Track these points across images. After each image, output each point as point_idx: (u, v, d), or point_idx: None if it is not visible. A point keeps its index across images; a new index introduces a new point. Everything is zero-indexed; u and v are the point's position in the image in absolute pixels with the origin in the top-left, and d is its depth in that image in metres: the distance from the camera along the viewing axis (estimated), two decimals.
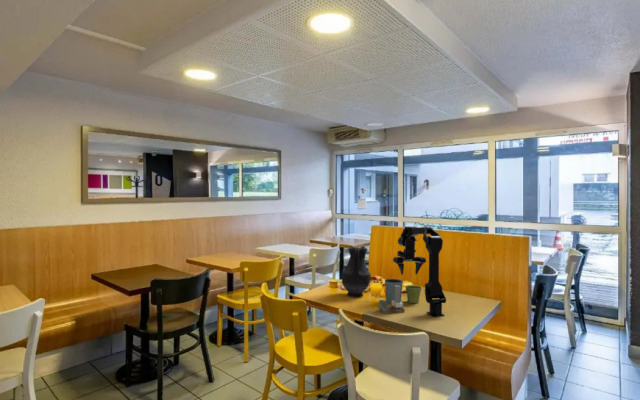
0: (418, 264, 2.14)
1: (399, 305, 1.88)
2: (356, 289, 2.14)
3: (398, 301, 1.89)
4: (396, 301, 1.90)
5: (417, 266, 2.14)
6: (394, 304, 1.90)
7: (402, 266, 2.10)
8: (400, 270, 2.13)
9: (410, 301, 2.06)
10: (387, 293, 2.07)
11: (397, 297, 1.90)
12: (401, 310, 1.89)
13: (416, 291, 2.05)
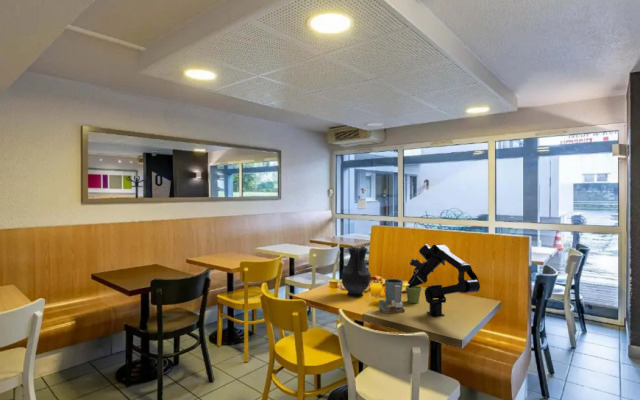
0: None
1: (399, 305, 1.88)
2: (356, 289, 2.14)
3: (398, 301, 1.89)
4: (396, 301, 1.90)
5: None
6: (394, 304, 1.90)
7: None
8: (412, 283, 1.85)
9: (410, 301, 2.06)
10: (387, 293, 2.07)
11: (397, 297, 1.90)
12: (401, 310, 1.89)
13: (416, 291, 2.05)
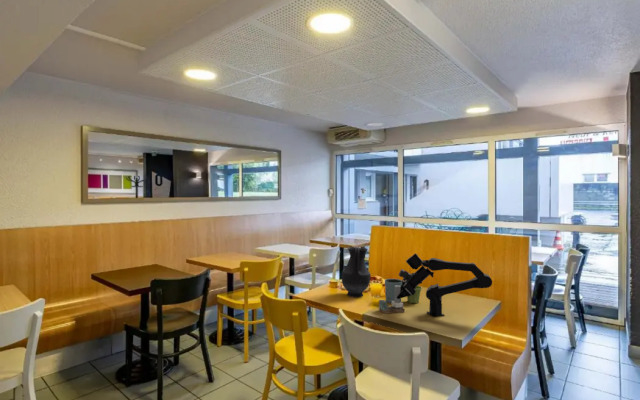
0: None
1: (399, 305, 1.88)
2: (356, 289, 2.14)
3: (398, 301, 1.89)
4: (396, 301, 1.90)
5: None
6: (394, 304, 1.90)
7: None
8: (400, 295, 1.85)
9: (410, 301, 2.06)
10: (387, 293, 2.07)
11: None
12: (401, 310, 1.89)
13: (416, 291, 2.05)
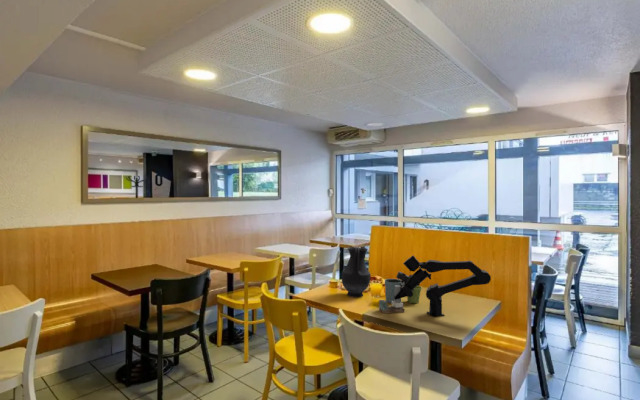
0: None
1: (399, 305, 1.88)
2: (356, 289, 2.14)
3: (398, 301, 1.89)
4: (396, 301, 1.90)
5: None
6: (394, 304, 1.90)
7: None
8: (397, 295, 1.88)
9: (410, 301, 2.06)
10: (387, 293, 2.07)
11: None
12: (401, 310, 1.89)
13: (416, 291, 2.05)
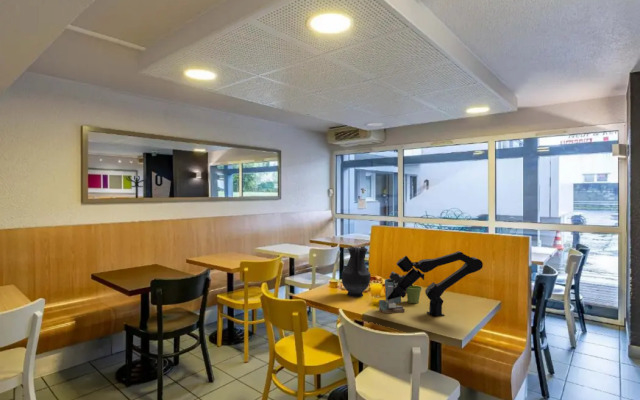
0: None
1: (392, 305, 1.87)
2: (356, 289, 2.14)
3: (391, 301, 1.88)
4: (389, 301, 1.89)
5: None
6: (387, 304, 1.89)
7: None
8: (390, 296, 1.87)
9: (410, 301, 2.06)
10: (387, 293, 2.07)
11: None
12: (401, 310, 1.89)
13: (416, 291, 2.05)
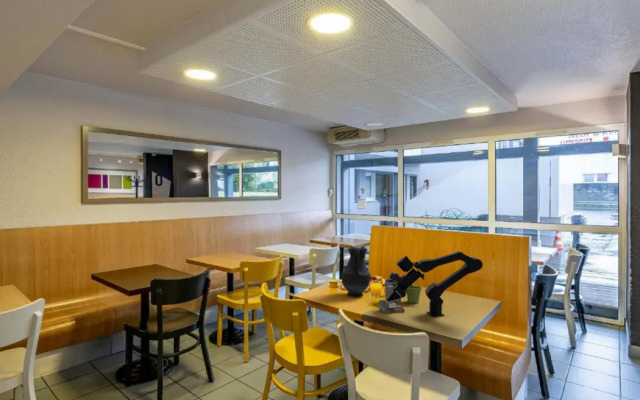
0: None
1: (392, 305, 1.87)
2: (356, 289, 2.14)
3: (391, 301, 1.88)
4: (389, 301, 1.89)
5: None
6: (387, 304, 1.89)
7: None
8: (390, 297, 1.84)
9: (410, 301, 2.06)
10: (387, 293, 2.07)
11: None
12: (401, 310, 1.89)
13: (416, 291, 2.05)
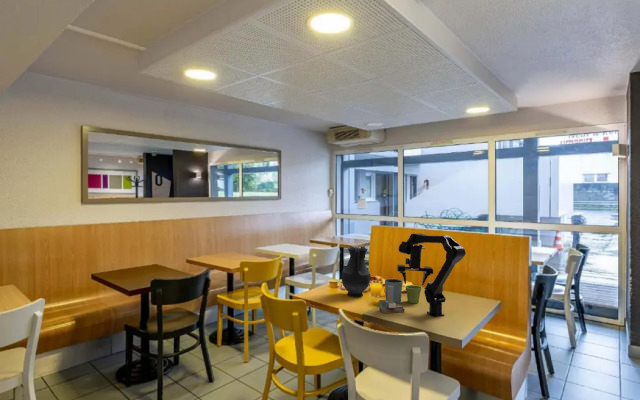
0: (424, 275, 1.97)
1: (392, 305, 1.87)
2: (356, 289, 2.14)
3: (391, 301, 1.88)
4: (389, 301, 1.89)
5: (423, 277, 1.97)
6: (387, 304, 1.89)
7: (404, 275, 1.97)
8: None
9: (410, 301, 2.06)
10: (387, 293, 2.07)
11: (390, 297, 1.89)
12: (401, 310, 1.89)
13: (416, 291, 2.05)
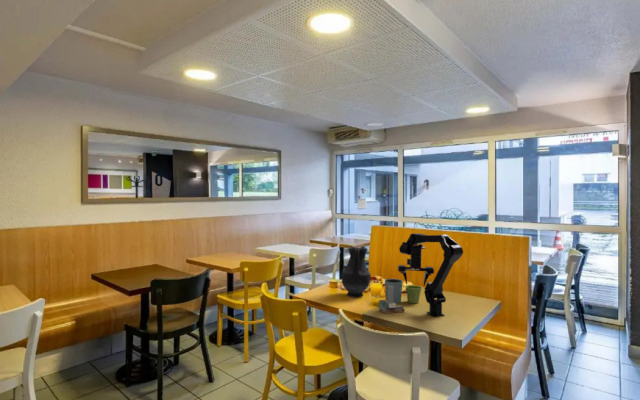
0: (425, 274, 1.97)
1: (392, 305, 1.87)
2: (356, 289, 2.14)
3: (391, 301, 1.88)
4: (389, 301, 1.89)
5: (424, 277, 1.97)
6: (387, 304, 1.89)
7: (404, 275, 1.98)
8: None
9: (410, 301, 2.06)
10: (387, 293, 2.07)
11: (390, 297, 1.89)
12: (401, 310, 1.89)
13: (416, 291, 2.05)
